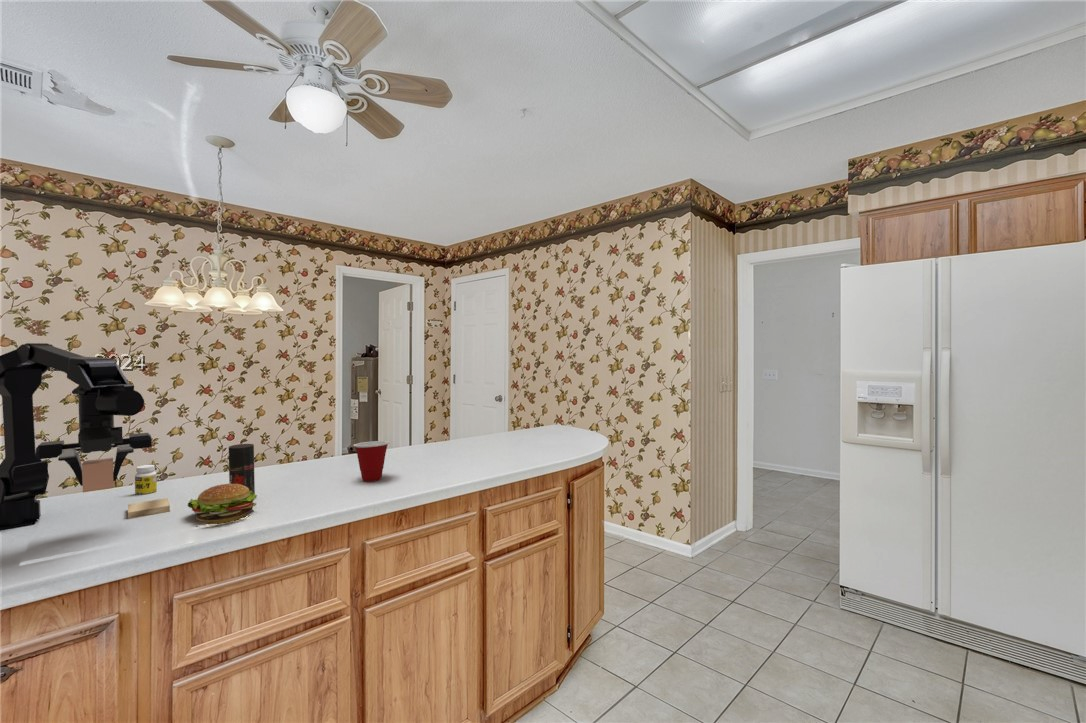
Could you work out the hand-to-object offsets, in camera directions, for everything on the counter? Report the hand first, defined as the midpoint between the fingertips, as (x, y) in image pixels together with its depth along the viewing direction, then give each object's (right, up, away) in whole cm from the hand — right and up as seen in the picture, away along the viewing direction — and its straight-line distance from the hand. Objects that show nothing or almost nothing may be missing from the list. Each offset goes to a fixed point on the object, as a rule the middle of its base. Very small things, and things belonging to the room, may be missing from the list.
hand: (98, 483), depth 108 cm
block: (0, -1, 0) cm, 1 cm away
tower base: (0, -12, +14) cm, 18 cm away
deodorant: (+16, -11, +26) cm, 32 cm away
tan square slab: (0, -11, +14) cm, 18 cm away
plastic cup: (+45, -11, +46) cm, 65 cm away
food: (+20, -12, +13) cm, 26 cm away
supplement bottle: (-13, -11, +29) cm, 34 cm away
